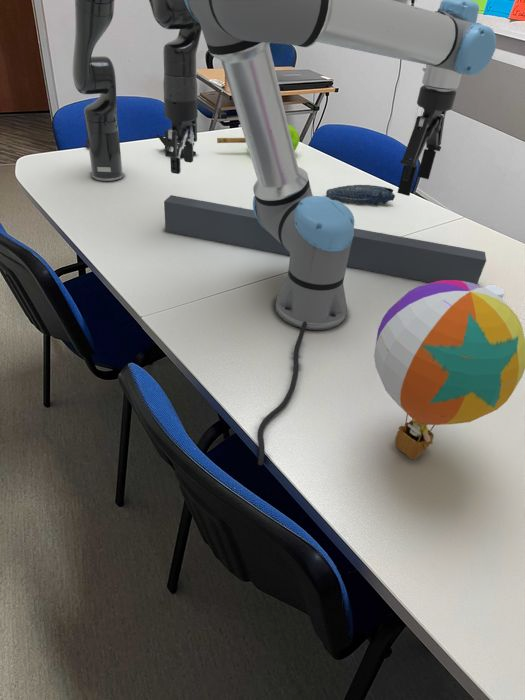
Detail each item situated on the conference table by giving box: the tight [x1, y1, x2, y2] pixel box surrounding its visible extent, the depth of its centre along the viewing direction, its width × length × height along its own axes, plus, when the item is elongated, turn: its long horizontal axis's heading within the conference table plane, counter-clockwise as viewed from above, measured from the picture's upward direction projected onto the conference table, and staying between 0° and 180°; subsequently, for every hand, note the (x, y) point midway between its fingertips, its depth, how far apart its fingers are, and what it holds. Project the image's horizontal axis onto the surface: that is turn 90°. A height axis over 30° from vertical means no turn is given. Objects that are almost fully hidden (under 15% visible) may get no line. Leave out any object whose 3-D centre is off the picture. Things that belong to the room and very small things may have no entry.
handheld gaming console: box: [156, 133, 197, 159], centre depth 183 cm, size 12×7×10 cm
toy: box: [373, 280, 525, 460], centre depth 74 cm, size 20×20×30 cm
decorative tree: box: [216, 124, 300, 152], centre depth 186 cm, size 18×10×30 cm
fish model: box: [325, 184, 396, 206], centre depth 161 cm, size 7×21×5 cm, turn 84°
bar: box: [163, 194, 487, 285], centre depth 130 cm, size 79×4×8 cm, turn 75°
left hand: (182, 167), depth 127 cm, fingers open, 8 cm apart
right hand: (413, 185), depth 123 cm, fingers open, 13 cm apart
